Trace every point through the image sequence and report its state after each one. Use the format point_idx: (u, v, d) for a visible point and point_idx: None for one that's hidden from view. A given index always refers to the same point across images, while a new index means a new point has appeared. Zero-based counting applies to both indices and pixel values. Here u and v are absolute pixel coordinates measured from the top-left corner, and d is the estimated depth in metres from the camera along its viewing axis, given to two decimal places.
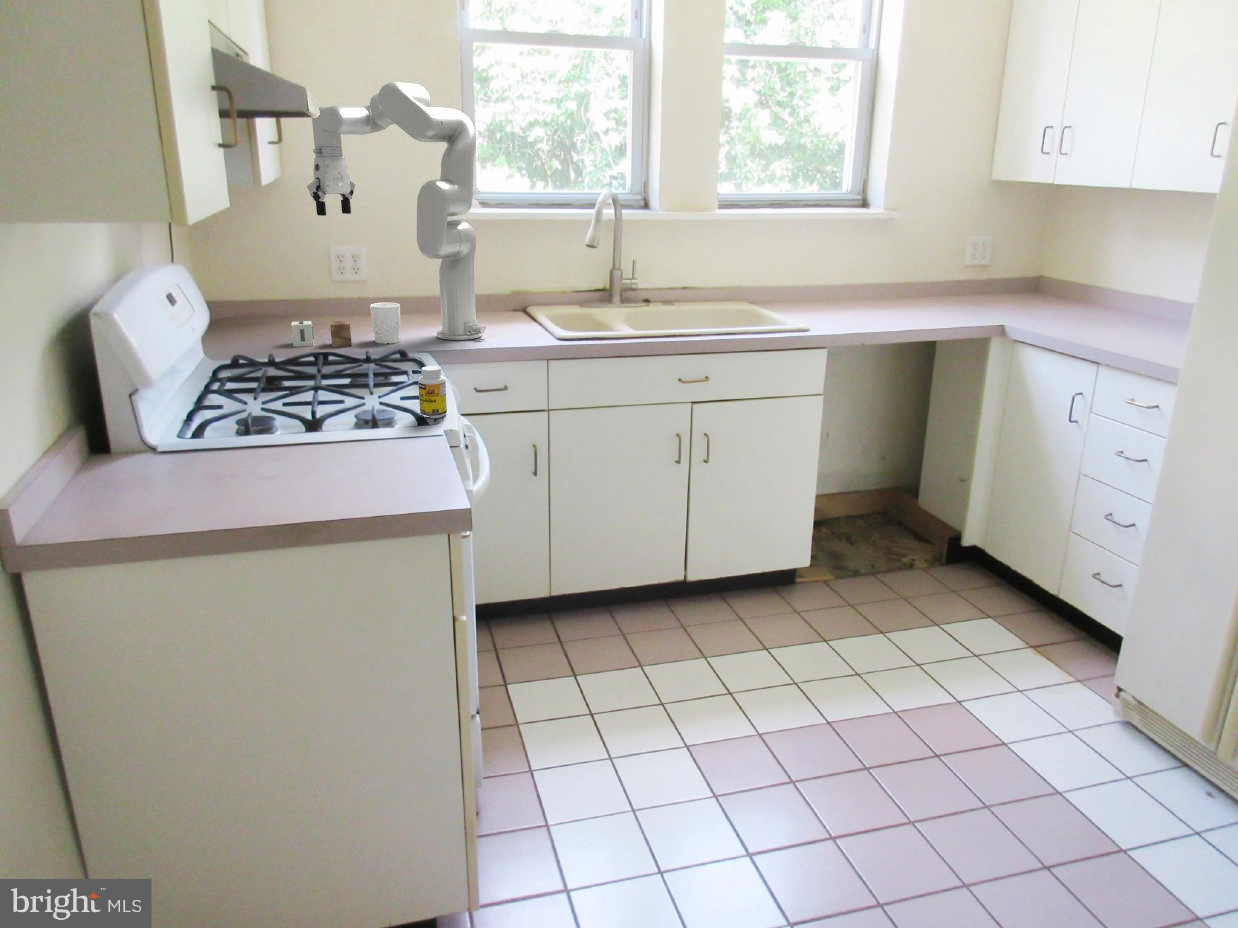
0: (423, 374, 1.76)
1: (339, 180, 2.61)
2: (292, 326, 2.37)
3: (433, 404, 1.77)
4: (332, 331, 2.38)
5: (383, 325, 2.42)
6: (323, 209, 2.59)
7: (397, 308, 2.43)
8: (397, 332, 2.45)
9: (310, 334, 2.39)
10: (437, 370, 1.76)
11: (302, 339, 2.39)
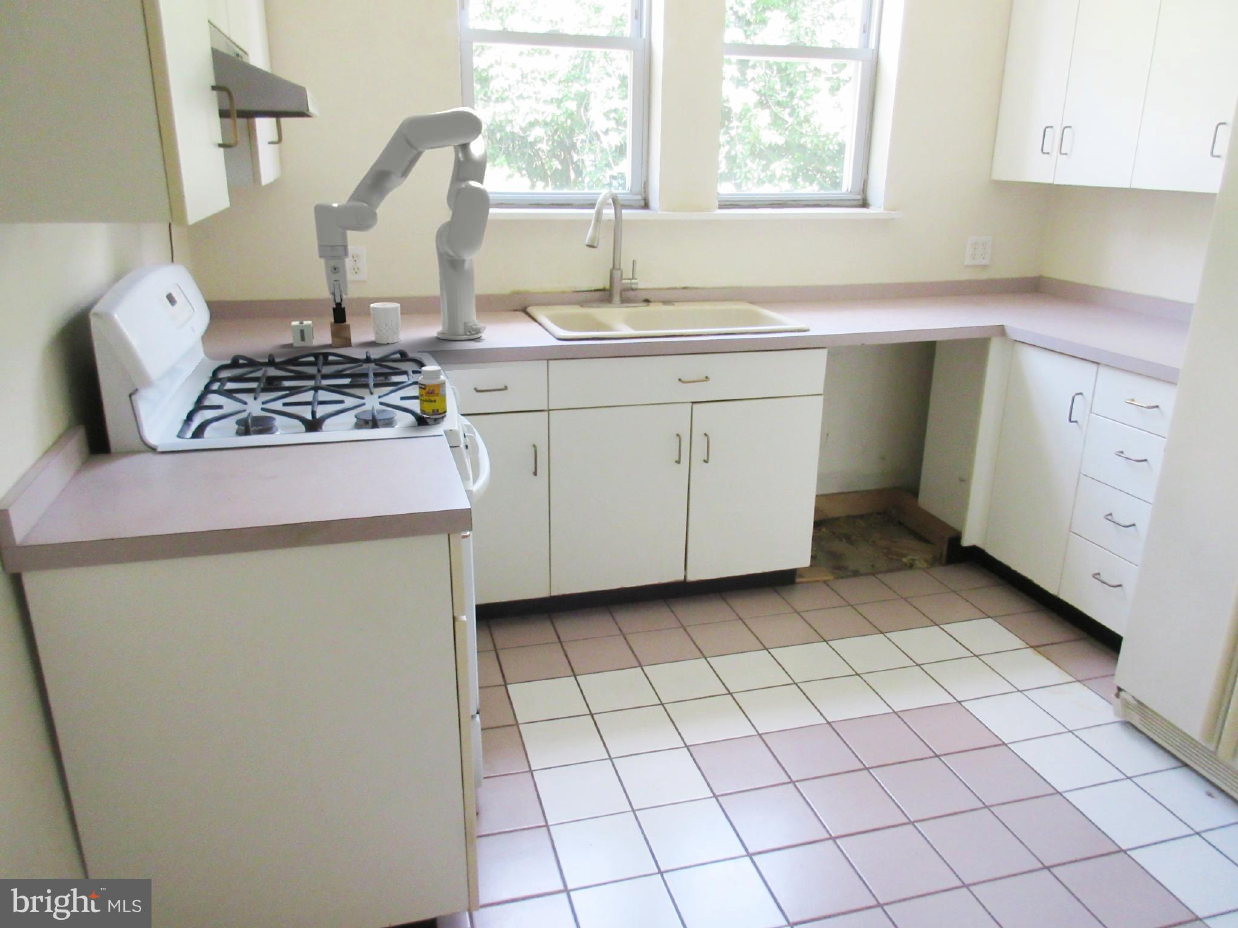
0: (423, 374, 1.76)
1: None
2: (292, 326, 2.37)
3: (433, 404, 1.77)
4: (332, 331, 2.38)
5: (383, 325, 2.42)
6: (344, 315, 2.39)
7: (397, 308, 2.43)
8: (397, 332, 2.45)
9: (310, 334, 2.39)
10: (437, 370, 1.76)
11: (302, 339, 2.39)
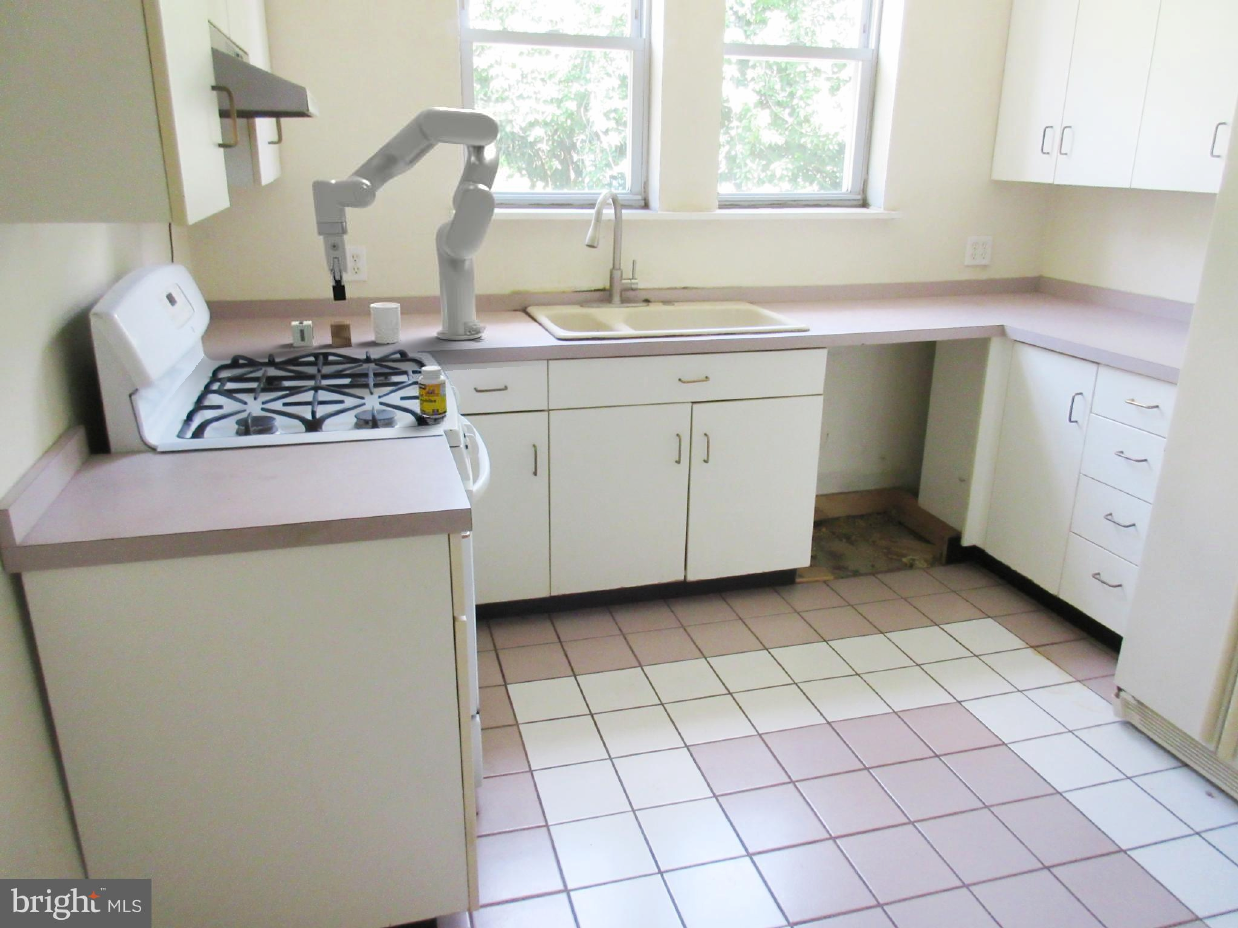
0: (423, 374, 1.76)
1: None
2: (292, 326, 2.37)
3: (433, 404, 1.77)
4: (332, 331, 2.38)
5: (383, 325, 2.42)
6: (344, 293, 2.38)
7: (397, 308, 2.43)
8: (397, 332, 2.45)
9: (310, 334, 2.39)
10: (437, 370, 1.76)
11: (302, 339, 2.39)
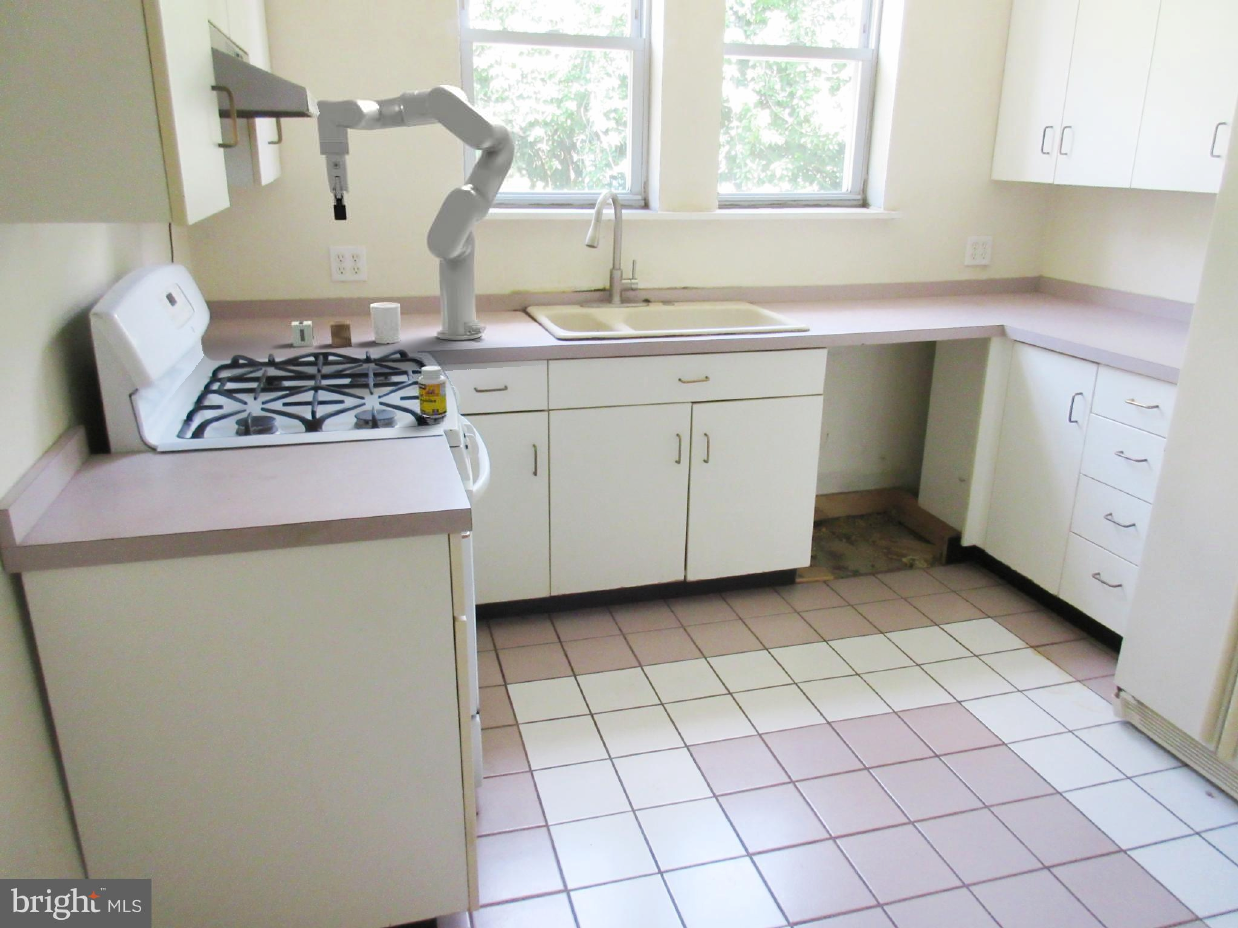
0: (423, 374, 1.76)
1: None
2: (292, 326, 2.37)
3: (433, 404, 1.77)
4: (332, 331, 2.38)
5: (383, 325, 2.42)
6: (344, 213, 2.47)
7: (397, 308, 2.43)
8: (397, 332, 2.45)
9: (310, 334, 2.39)
10: (437, 370, 1.76)
11: (302, 339, 2.39)
